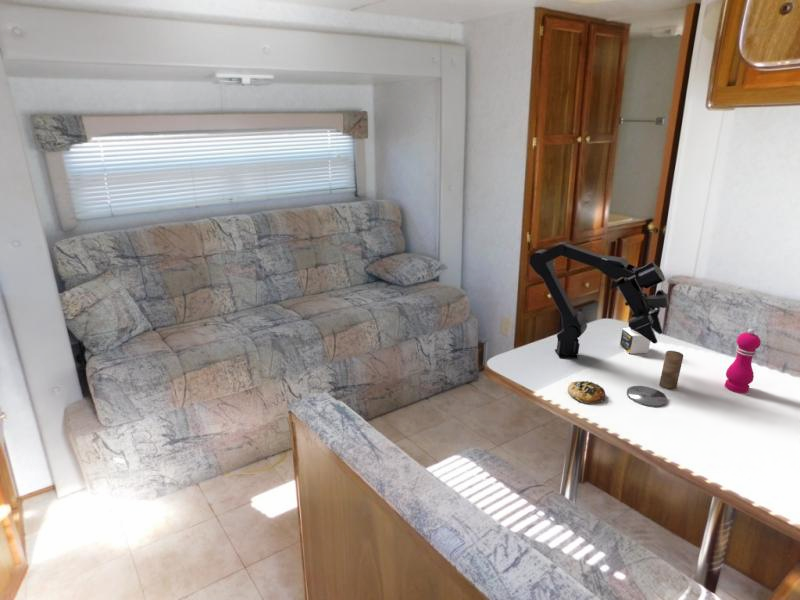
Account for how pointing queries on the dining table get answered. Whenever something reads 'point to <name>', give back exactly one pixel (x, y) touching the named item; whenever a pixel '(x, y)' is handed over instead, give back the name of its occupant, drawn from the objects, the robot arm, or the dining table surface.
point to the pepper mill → (742, 363)
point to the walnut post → (671, 370)
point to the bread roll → (586, 392)
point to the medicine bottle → (634, 341)
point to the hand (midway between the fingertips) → (658, 338)
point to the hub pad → (646, 396)
